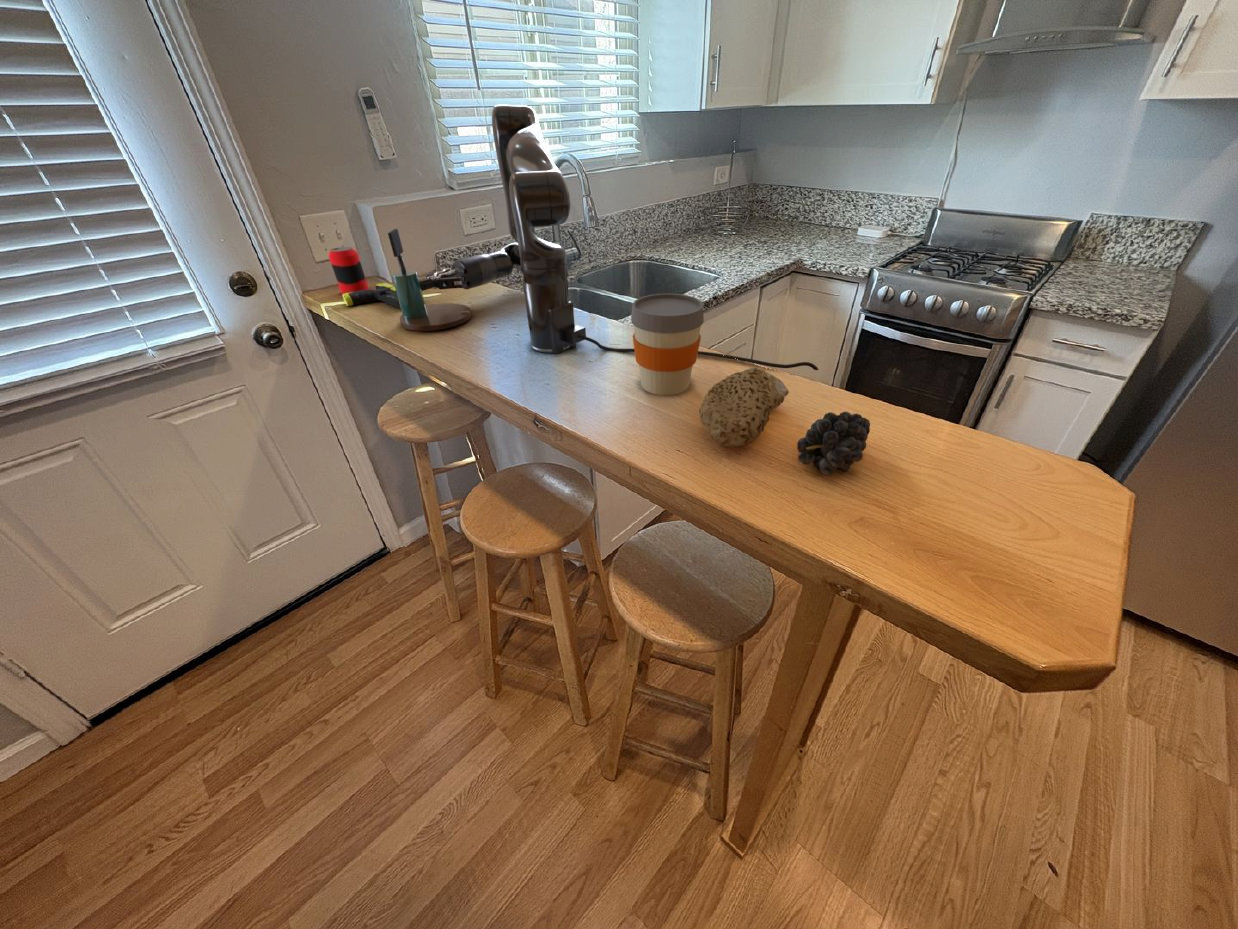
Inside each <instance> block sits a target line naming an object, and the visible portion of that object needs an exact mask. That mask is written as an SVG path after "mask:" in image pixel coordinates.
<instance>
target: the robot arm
mask: <svg viewBox="0 0 1238 929" xmlns="http://www.w3.org/2000/svg"><path fill="white" fill-rule="evenodd" d="M491 127H492V128H491V129H492V136H493V141H494V148H495V153H496V158H497V164H498V170H499V174H500V179H501V184H502V188H503V192H504V198H505V204H506V213H507V223H508V224H507V225H508V232H509V234H510V236H511V237H512V238H513V240H515V241H516V242H512V243H509V244H507V245H505V246H504V247H502V248H500V249H499V250H497V251H492V252H489V253H483V254H475V255H470V256H466V257H462V258H459V259H458V258H457V259H456V260H454V262H453V265H452V267H451V268H452V269H451V268H450V267H447V268H443V269H442V270H439V269H436V268H435V269H433V270H431V271H430V272H428V273H426V275H425V278H423V279H419V282H420V286H421V290H422V292H425V291H427V290H431V289H434V290H437V289H438V290H451V289H453V290H454V289H463V290H470V289H474V288H477V287H481V286H484V285H488V284H490V283H493V282H495V281H498V280H502V279H506V278H508V277H510V276H511V275H512V273H513V271H514V269H516V270H518V271H520V272H521V278H522V287H523V294H524V301H525V309H526V317H527V321H526V324H527V328H528V331H529V337H530V338H529V339H530V348H531V349H532V350H534V351H535V352H540V353H553V354H560V353H561V352H564V351H567V350H568V349H570V348H574V347H575V346H577V344H579V343H581V342H582V341H587V342H590V343H592V344H594V345H596V346H597V348H600V349H601V350H603V351H609V352H617V353H635V350H634V348H615V347H608V346H605V345H602V344H600V342H598V341H597V340H596V339H593V338H591V337H588V336H587V330H586V329H587V328H586V327H585V326H582V325H578V324H577V325H575V324H576V323H575V313H574V302H572V301H570V292H569V291H570V290H569V279H568V278H569V277H568V264H567V254H566V252H567V251H566V249H565V248H564V247H563V246H562V245H560V244H557V243H554V242H551V241H547V240H544V239H542V238H540V237H539V236H538V235H537V234H536V230H535V228H544V227H545V228H547V227H556V226H560V225H563V224H565V223H566V222H567V220H568V219H569V216H570V213H571V196H570V191H569V188H568V184H567V181H566V180H565V177H564V176H563V174H562V172H561V171H560V170H559V168H558V167H557V166H556V164H555V163H554V161H553V159H552V155H551V153H550V149H549V147H548V145H547V143H546V142H545V140H544V138H543V134H542V131H541V127H540V123H539V117H538V115H537V113H536V111H535V110H534V108H532V107H531V106H528V105H522V104H521V105H520V104H519V105H517V104H516V105H511V104H509V105H508V104H497V105H494V106H493V108H492V110H491ZM700 355H701V356H709V357H716V358H722V359H727V360H734V361H740V362H745V363H750V364H756V365H761V366H766V367H771V368H777V369H778V368H779V369H792V368H798V367H809V368H811V369H812V370H814V371H819V368H818V367H817V366H816V365H815V364H814V363H812V362H808V361H801V362H795V363H789V364H783V363H774V362H768V361H762V360H757V359H753V358H747V357H741V356H737V355H736V356H735V355H731V354H730V355H729V354H723V353H716V352H709V351H701V350H698V354H697V356H700ZM723 355H724V356H723ZM735 358H736V359H735ZM737 359H738V360H737Z"/></svg>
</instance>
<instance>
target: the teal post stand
mask: <svg viewBox="0 0 1238 929" xmlns="http://www.w3.org/2000/svg"><path fill="white" fill-rule="evenodd" d="M387 235H388V239H389V242H390V247H391V250H392V254H393V257H394V258H396V259H397V262H398V266H399V270H397V271H394V272H392V273H391V274H390V275H391V279H392V284H393V285H394V287H395V290H396V294H397V297H398V301H399V304H400V308H399V309H400V310H401V315H400V316H399V322H400V325H401V326H402V327H403V328H405V329H406V330H411V331H418V332H419V331H420V332H427V331H431V332H432V331H438V330H446V329H450V328H454V327H458V326H460V325H462V324H464V323H466V322H467V321H469V320H470V319H471V317H472V311H471V309H470V307H469V306H467V305H465V304H461V303H454V302H442V303H440V302H439V303H431V304H426V303H425V298H424V295H423V291H422V290H421V286H420V282H419V280H420V278H419V275H418V272H417V271H416V270H413V269H407V268H406V266H405V261H404V257H403V255H402V254H403V253H404V249H403V244H402V241H401V238H400V233H399V230H398V228H394V229H392V230H391V231H389V232H388V233H387Z"/></svg>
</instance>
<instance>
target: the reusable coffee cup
mask: <svg viewBox="0 0 1238 929" xmlns="http://www.w3.org/2000/svg"><path fill="white" fill-rule="evenodd" d="M630 322H631V324H632V326H633V334H632V341H633V349H634V350H635V352H634V357H635V363H637V365H638V369H639V370H638V372H639V377H640V385H641V387H642V389H644V391H646V392H648V393H650V394H653V395H657V396H671V395H673V396H675V395H677V394H681V393H683V392H685V391H687V389H688V388H689V386H690V381H691V380H690V379H691V377H692V371H693V367H694V365H695V364H696V362H697V359H698V351H699V348H700V346H701V340H702V336H701V334H700V333H701V328H702V326H703V324H704V302H703V301H702V300H700V299H698V298H697V297H695V296H691V295H687V294H682V293H653V294H648V295H644V296H641V297H639V298H637V299H635V300H634V301H633V302H632V306H631V317H630Z"/></svg>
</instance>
